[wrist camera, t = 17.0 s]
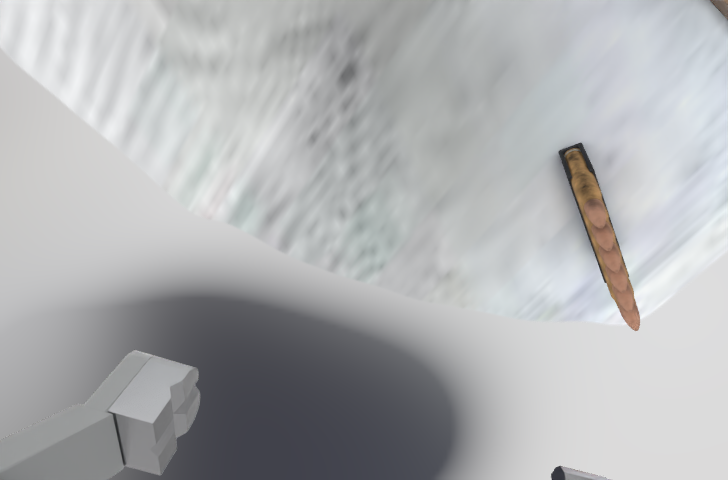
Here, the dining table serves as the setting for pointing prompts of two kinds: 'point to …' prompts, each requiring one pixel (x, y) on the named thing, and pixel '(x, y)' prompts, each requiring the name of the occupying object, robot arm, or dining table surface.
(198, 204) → the dining table surface
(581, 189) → the ammunition clip
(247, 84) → the dining table surface
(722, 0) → the notched board
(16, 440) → the robot arm
